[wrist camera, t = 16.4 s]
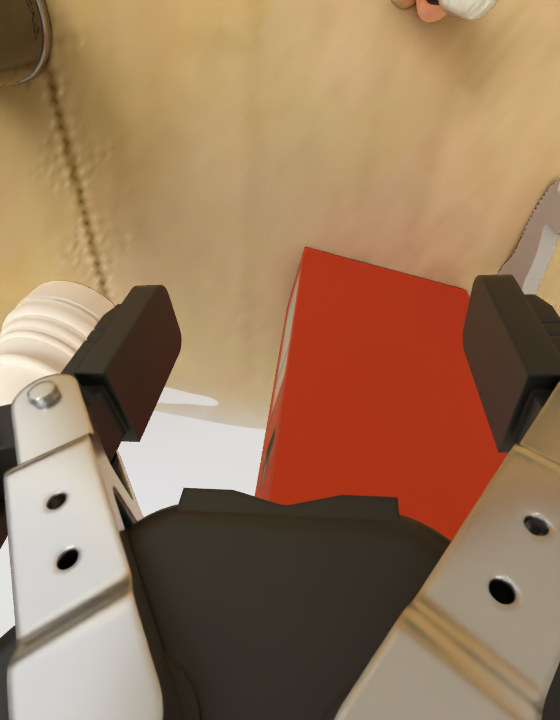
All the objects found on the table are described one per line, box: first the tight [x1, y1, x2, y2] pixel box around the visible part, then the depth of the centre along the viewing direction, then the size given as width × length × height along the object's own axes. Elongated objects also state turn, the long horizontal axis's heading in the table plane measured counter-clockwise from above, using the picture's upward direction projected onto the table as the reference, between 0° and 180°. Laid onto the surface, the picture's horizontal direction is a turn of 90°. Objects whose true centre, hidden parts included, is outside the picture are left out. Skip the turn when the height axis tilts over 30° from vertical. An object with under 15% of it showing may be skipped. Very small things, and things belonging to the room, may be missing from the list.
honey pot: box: [0, 281, 115, 406], centre depth 46 cm, size 13×13×18 cm
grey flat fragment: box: [498, 180, 560, 295], centre depth 37 cm, size 6×1×10 cm
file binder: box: [255, 247, 508, 541], centre depth 33 cm, size 8×17×32 cm, turn 77°
